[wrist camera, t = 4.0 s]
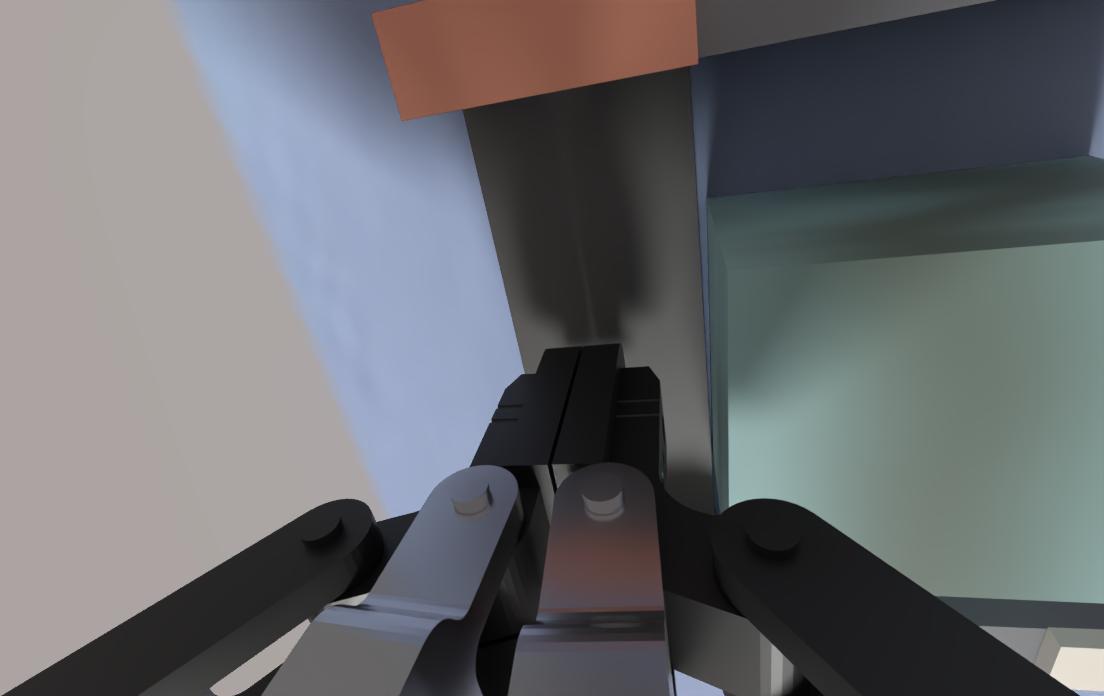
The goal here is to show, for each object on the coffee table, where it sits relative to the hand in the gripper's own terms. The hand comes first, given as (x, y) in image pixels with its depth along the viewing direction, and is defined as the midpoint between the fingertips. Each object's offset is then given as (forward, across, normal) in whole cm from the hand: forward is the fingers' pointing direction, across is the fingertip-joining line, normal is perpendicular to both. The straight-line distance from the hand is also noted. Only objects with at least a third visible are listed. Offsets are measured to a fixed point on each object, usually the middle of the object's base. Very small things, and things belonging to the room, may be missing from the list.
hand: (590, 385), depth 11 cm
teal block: (+2, -5, 0) cm, 6 cm away
